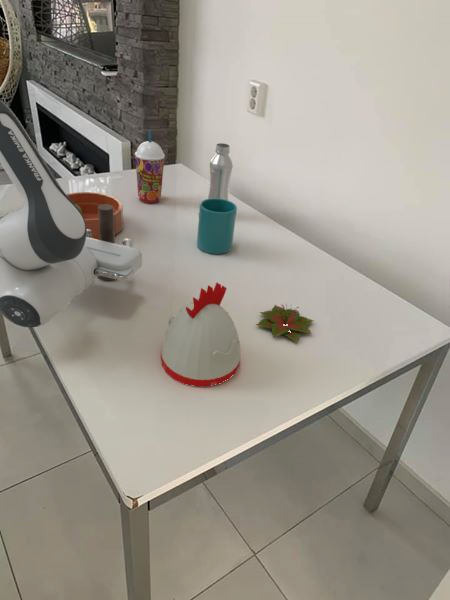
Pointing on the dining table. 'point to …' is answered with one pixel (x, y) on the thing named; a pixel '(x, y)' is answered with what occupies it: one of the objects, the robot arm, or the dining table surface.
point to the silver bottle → (220, 172)
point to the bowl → (90, 210)
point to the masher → (106, 228)
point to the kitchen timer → (201, 342)
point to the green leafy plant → (285, 322)
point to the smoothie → (149, 171)
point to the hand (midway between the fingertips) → (108, 237)
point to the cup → (216, 225)
